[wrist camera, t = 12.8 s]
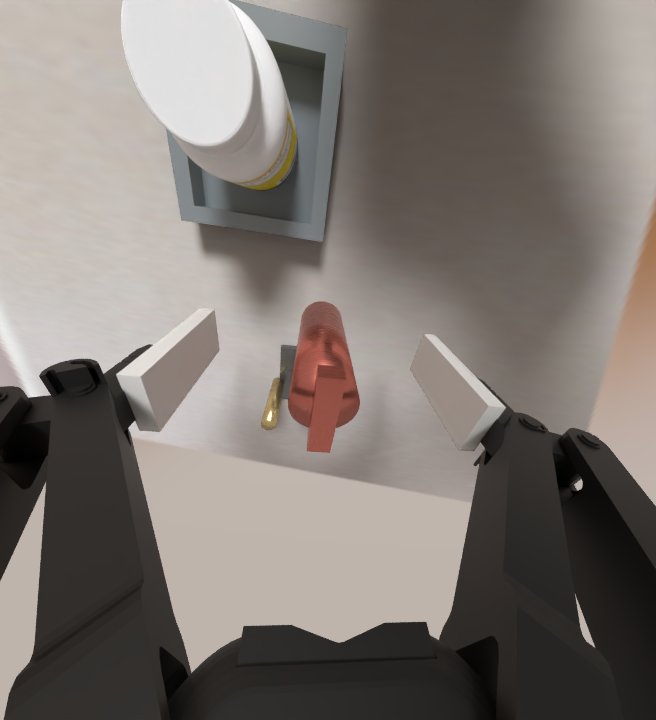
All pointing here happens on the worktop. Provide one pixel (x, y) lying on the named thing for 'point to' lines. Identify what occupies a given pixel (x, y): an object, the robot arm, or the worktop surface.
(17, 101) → the worktop surface
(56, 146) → the worktop surface
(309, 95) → the tray
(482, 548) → the robot arm
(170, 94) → the supplement bottle
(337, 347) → the crank
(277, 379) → the crank pedestal
